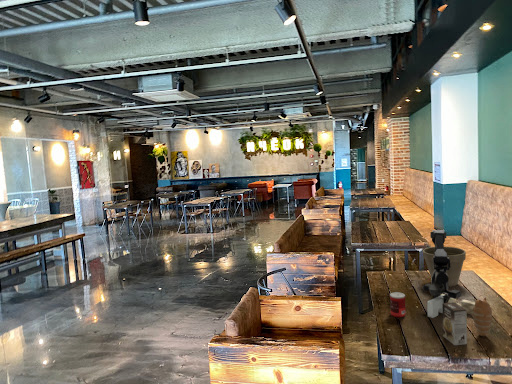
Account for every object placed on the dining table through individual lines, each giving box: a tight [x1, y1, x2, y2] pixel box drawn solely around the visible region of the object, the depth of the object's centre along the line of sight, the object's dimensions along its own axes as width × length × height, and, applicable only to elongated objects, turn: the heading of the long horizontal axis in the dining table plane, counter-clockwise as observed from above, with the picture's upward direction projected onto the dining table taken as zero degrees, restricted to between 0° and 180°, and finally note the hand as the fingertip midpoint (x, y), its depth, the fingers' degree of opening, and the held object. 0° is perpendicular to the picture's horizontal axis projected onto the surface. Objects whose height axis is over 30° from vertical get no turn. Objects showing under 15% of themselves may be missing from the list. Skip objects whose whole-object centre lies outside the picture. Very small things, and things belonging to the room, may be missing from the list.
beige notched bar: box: [440, 294, 476, 317], centre depth 208 cm, size 20×6×6 cm, turn 35°
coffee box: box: [442, 302, 468, 346], centre depth 176 cm, size 9×6×16 cm
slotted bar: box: [426, 295, 444, 319], centre depth 206 cm, size 14×3×8 cm, turn 125°
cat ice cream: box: [472, 296, 493, 337], centre depth 178 cm, size 9×8×18 cm
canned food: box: [389, 291, 407, 318], centre depth 207 cm, size 8×8×11 cm
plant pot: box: [422, 246, 467, 288], centre depth 250 cm, size 25×25×22 cm
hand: (441, 306), depth 208 cm, fingers closed on slotted bar, 3 cm apart
